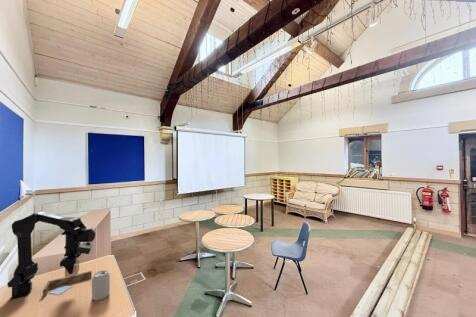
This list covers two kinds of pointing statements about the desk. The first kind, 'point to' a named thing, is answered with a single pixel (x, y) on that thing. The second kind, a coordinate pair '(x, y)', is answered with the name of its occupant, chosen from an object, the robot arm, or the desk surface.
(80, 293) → the desk surface
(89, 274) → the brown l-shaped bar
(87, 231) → the robot arm
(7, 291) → the desk surface
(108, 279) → the can
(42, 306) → the desk surface
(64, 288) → the pad
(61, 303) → the desk surface
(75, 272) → the cube
